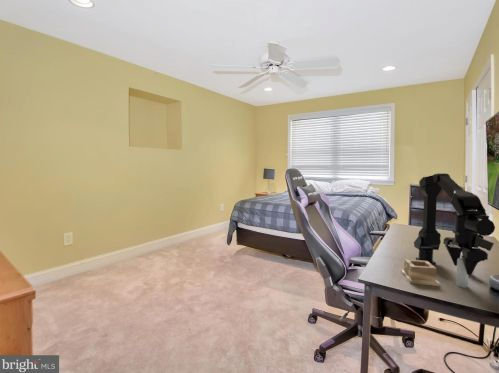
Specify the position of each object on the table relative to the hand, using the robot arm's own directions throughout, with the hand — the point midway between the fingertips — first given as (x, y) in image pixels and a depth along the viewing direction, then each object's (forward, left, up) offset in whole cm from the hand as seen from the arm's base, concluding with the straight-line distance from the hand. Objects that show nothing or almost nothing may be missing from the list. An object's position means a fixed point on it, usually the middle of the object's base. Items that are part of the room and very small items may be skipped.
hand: (462, 270), depth 102 cm
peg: (0, 0, -6) cm, 6 cm away
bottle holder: (-4, -13, -6) cm, 15 cm away
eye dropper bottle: (-14, +8, -6) cm, 17 cm away
